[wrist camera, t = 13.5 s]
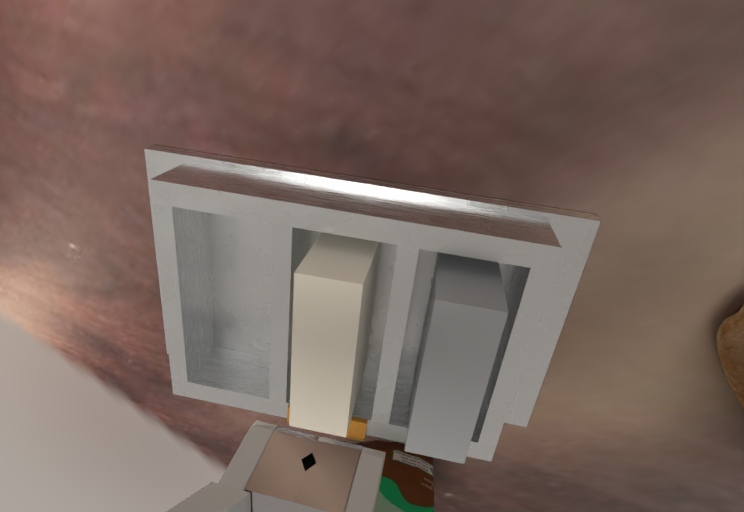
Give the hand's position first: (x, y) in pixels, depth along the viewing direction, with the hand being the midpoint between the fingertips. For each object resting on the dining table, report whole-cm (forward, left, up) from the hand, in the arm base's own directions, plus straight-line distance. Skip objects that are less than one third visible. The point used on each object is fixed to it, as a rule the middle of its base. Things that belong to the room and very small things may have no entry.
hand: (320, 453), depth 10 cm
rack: (+2, +6, -17) cm, 18 cm away
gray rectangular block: (-4, +6, -16) cm, 17 cm away
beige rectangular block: (+2, +6, -16) cm, 17 cm away
